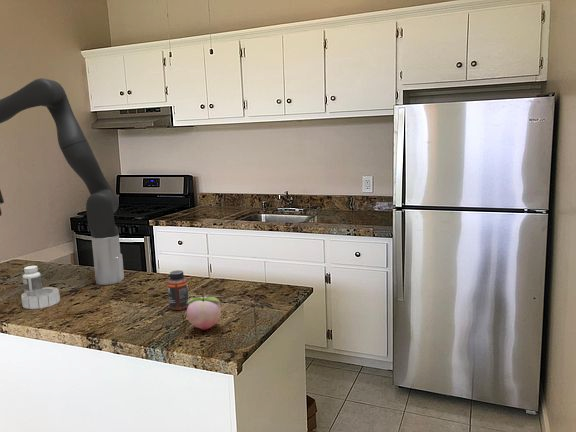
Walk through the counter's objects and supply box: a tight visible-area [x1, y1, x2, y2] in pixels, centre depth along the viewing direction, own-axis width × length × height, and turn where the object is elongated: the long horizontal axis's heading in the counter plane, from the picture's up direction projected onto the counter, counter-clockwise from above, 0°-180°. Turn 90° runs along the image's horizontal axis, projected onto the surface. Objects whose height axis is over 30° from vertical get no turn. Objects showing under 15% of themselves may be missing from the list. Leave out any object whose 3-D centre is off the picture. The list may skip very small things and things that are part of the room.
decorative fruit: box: [186, 293, 222, 330], centre depth 124 cm, size 9×8×10 cm
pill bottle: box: [22, 265, 43, 293], centre depth 156 cm, size 5×5×10 cm
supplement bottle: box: [167, 270, 190, 311], centre depth 141 cm, size 6×6×11 cm
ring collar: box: [20, 286, 61, 310], centre depth 148 cm, size 10×10×4 cm
